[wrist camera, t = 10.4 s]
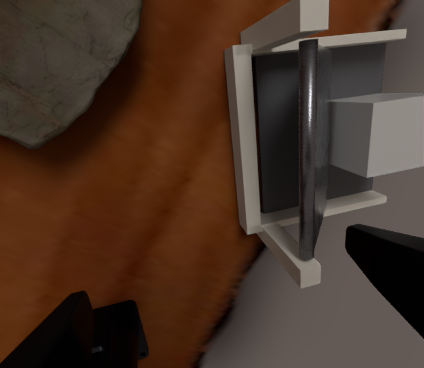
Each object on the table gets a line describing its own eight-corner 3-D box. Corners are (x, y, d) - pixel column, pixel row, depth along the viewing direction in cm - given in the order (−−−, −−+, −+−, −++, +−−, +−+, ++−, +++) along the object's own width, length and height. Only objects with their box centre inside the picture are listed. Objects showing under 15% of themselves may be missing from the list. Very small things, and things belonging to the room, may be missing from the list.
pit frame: (240, 233, 24) (281, 293, 17) (222, 34, 18) (272, -4, 11) (368, 204, 26) (452, 245, 19) (385, 20, 21) (511, -19, 14)
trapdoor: (298, 258, 17) (312, 261, 17) (296, 41, 13) (316, 38, 12) (316, 205, 24) (327, 206, 23) (319, 49, 19) (333, 47, 19)
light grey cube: (366, 177, 19) (426, 165, 19) (373, 103, 17) (438, 93, 18) (322, 161, 23) (372, 151, 24) (324, 101, 21) (377, 93, 22)
